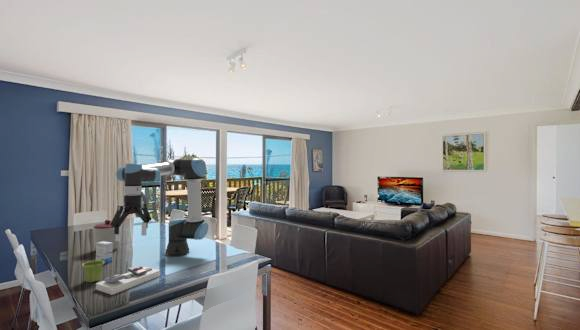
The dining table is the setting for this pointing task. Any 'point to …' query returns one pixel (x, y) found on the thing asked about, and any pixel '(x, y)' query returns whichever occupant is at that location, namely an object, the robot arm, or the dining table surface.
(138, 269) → the charcoal rocker
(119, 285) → the power strip
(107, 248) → the ink box
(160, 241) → the dining table surface
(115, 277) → the slate rocker
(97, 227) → the canister
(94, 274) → the plant pot
